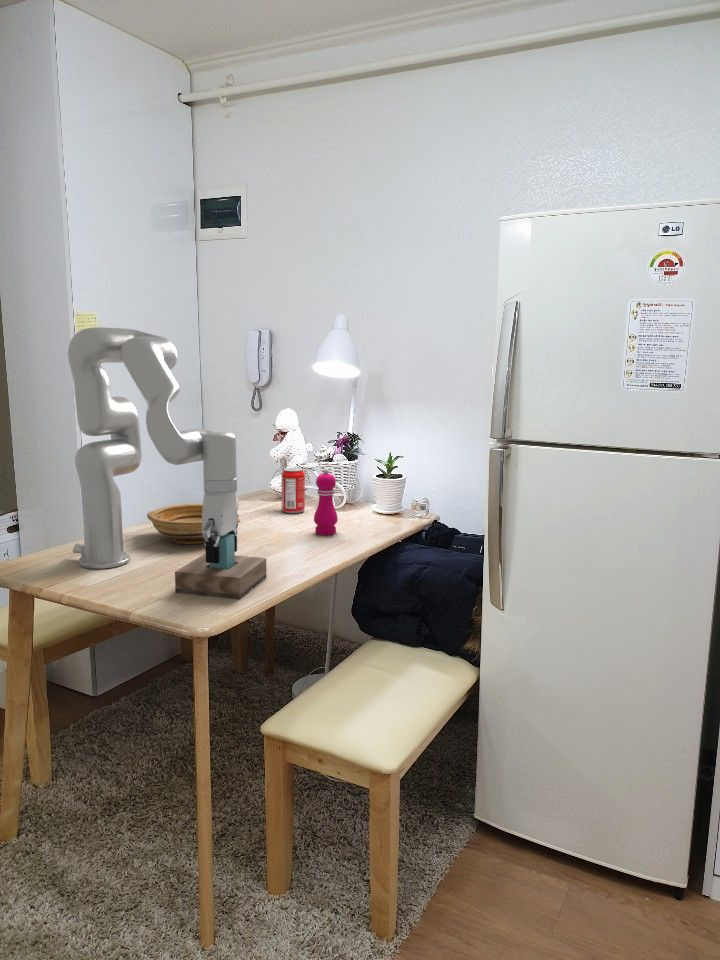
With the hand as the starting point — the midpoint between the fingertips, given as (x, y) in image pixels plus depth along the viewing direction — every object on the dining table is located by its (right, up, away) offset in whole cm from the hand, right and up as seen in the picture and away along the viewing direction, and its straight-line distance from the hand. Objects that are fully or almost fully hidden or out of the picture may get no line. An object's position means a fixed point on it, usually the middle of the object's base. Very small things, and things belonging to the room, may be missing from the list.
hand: (221, 556), depth 172 cm
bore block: (0, -7, +1) cm, 7 cm away
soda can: (+10, +7, +78) cm, 79 cm away
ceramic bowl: (-16, +1, +42) cm, 45 cm away
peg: (0, -6, +1) cm, 6 cm away
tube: (-11, +6, +73) cm, 74 cm away
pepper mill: (+22, +2, +51) cm, 55 cm away
